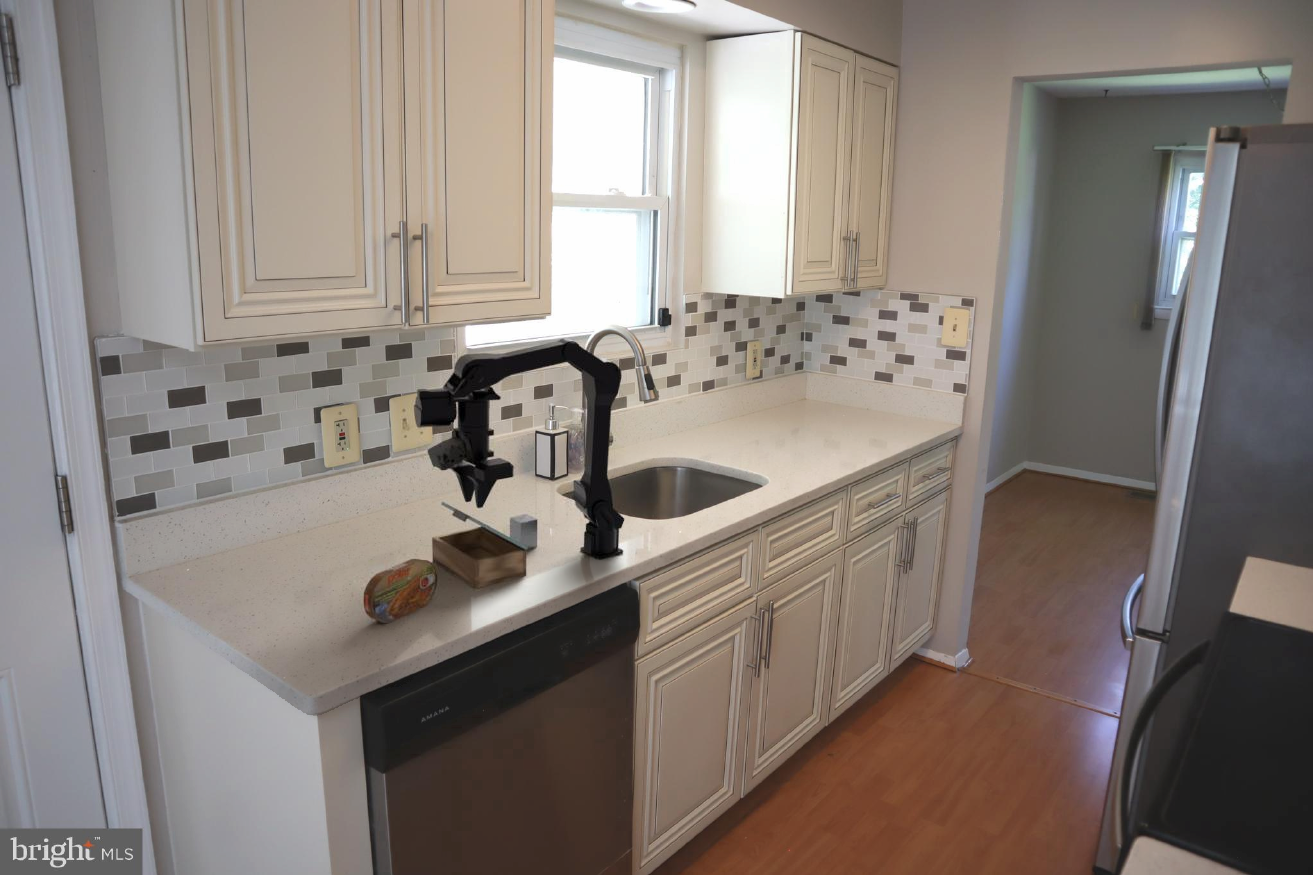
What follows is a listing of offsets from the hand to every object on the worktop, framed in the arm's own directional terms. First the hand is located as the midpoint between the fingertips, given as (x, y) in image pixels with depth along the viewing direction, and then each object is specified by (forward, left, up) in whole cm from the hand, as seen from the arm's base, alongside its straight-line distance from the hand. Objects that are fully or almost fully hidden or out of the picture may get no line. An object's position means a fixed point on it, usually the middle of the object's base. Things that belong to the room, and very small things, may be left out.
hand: (473, 504), depth 173 cm
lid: (-1, 0, -5) cm, 5 cm away
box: (-1, 0, -13) cm, 13 cm away
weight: (-15, -5, -13) cm, 20 cm away
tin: (+19, +9, -13) cm, 25 cm away
